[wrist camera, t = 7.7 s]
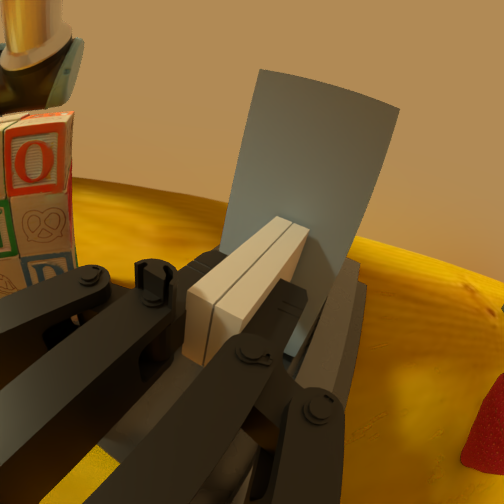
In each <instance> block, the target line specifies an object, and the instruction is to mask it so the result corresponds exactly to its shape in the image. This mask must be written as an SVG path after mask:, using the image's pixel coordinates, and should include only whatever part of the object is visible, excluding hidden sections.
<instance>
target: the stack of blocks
mask: <svg viewBox="0 0 504 504" xmlns="http://www.w3.org/2000/svg"><path fill="white" fill-rule="evenodd" d="M73 119H74V111H71V112H57V113H47V114H38V115H31V116H30V115H29V113H24V114H17V115H10V116H5V117H0V298H2V297H5V296H7V295H10V294H12V293H14V292H17V291H19V290H22V289H24V288H27V287H29V286H31V285H34V284H36V283H39V282H42V281H44V280H47V279H49V278H52V277H54V276H57V275H60V274H62V273H65V272H68V271H70V270H73V269H76V268H78V261H77V254H76V247H75V237H74V225H73V209H72V133H73V121H74V120H73ZM71 319H72V320H73V321H79V320H78V317H77V315H75V316H72V317H71Z"/></svg>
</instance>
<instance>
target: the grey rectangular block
mask: <svg viewBox="0 0 504 504" xmlns="http://www.w3.org/2000/svg"><path fill="white" fill-rule="evenodd" d="M399 110H400V109H399V108H397V107H394V106H392V105H389V104H387V103H384V102H382V101H379V100H376V99H374V98H371V97H368V96H365V95H362V94H360V93H357V92H354V91H350V90H347V89H344V88H341V87H337V86H334V85H331V84H327V83H323V82H320V81H316V80H312V79H307V78H303V77H299V76H295V75H290V74H284V73H280V72H274V71H268V70H262V69H260V70H259V74H258V78H257V82H256V86H255V90H254V93H253V98H252V102H251V106H250V110H249V114H248V118H247V122H246V126H245V131H244V135H243V139H242V144H241V148H240V152H239V157H238V161H237V166H236V171H235V176H234V180H233V184H232V189H231V194H230V198H229V203H228V208H227V213H226V218H225V223H224V228H223V233H222V238H221V243H220V248H219V251H220V252H222V253H224V254H226V255H228V256H229V255H230V254H231V253H232V252H234V251H235V250H236V249H237V248H239V247H240V246H241V245H242V244H243V243H245V242H246V241H247V240H248V239H249V238H251V237H252V236H253V235H254V234H256V233H257V232H258V231H259V230H260V229H262V228H263V227H264V226H265V225H266V224H268V223H269V222H270V221H271V220H273V219H274V218H275V217H276V216H278V217H281V218H283V219H286V220H288V221H291V222H292V224H293V223H296V224H298V225H300V226H303V227H305V228H308V229H310V230H309V233H308V236H307V239H306V242H305V244H304V247H303V250H302V253H301V255H300V258H299V261H298V263H297V266H296V269H295V271H294V274H293V276H292V279H291V281H290V283H292V284H294V285H297V286H299V287H301V288H303V289H305V290H307V296H308V302H307V304H306V306H305V309H304V311H303V313H302V315H301V317H300V319H299V321H298V323H297V325H296V327H295V329H294V331H293V333H292V335H291V338H290V339H289V341H288V343H287V345H286V347H285V349H284V353H286V354H288V355H290V356H293V357H295V356H296V354H297V353H298V351H299V349H300V347H301V345H302V344H303V342H304V340H305V338H306V336H307V335H308V333H309V331H310V329H311V327H312V325H313V323H314V321H315V319H316V318H317V316H318V314H319V312H320V310H321V308H322V306H323V304H324V302H325V300H326V298H327V296H328V294H329V292H330V290H331V288H332V286H333V284H334V281H335V279H336V277H337V275H338V273H339V271H340V269H341V267H342V264H343V262H344V260H345V258H346V256H347V253H348V251H349V249H350V246H351V244H352V242H353V240H354V237H355V235H356V233H357V230H358V228H359V225H360V223H361V220H362V218H363V216H364V213H365V211H366V208H367V205H368V203H369V200H370V198H371V195H372V192H373V190H374V187H375V184H376V182H377V179H378V176H379V173H380V171H381V168H382V165H383V162H384V159H385V156H386V153H387V150H388V147H389V144H390V141H391V137H392V134H393V131H394V127H395V124H396V121H397V118H398V114H399Z"/></svg>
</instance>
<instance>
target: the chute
mask: <svg viewBox="0 0 504 504" xmlns="http://www.w3.org/2000/svg"><path fill="white" fill-rule="evenodd" d="M219 248H220V245H218V246H217V247H215V248H214V249H213V250H218V251H219ZM211 251H212V250H211ZM359 268H360V263H358V262H356V261H353V260H351V259H349V258H347V257H346V258H345V260H344V262H343V264H342V267H341V269H340V271H339V273H338V275H337V277H336V279H335V281H334V284H333V286H332V288H331V290H330V292H329V294H328V296H327V298H326V300H325V302H324V304H323V306H322V308H321V310H320V312H319V314H318V316H317V318H316V319H315V321H314V323H313V325H312V327H311V329H310V331H309V333H308V335H307V336H306V338H305V340H304V342H303V344H302V345H301V347H300V349H299V351H298V353H297V354H296V356H295V357H293V356H290V355H288V354H286V353H284V352H283V355H282V357H283V365H284V368H285V370H286V371H287V373H288V374H289V376H290V377H291V378H292V379H293V380H294V381H296V382H297V383H298V384H299V385H300V386H302V387H303V388H304V389H305V388H308V387H320V388H322V389H325V390H328V391H330V392H331V393H332V394H334V395H335V396H336V397H337V398H338V399H339V401H340V402H341V404H342V405H343V409H344V411H345V407H346V403H347V399H348V395H349V391H350V386H351V382H352V377H353V373H354V368H355V363H356V358H357V352H358V347H359V341H360V335H361V328H362V322H363V315H364V307H365V299H366V290H367V285H366V284H363V283H361V282H359V281H358V274H359ZM203 369H204V364H203V365H202V366H201V365H199V364H197V363H196V362H194V361H192V360H191V359H189V358H187V357H186V356H184V355H182V345H181V346H180V347H179V348H178V349H177V350H176V352H175V353H174V361H173V362H172V364H171V366H170V367H169V368H168V369H167V370H166V371H165V372H164V373H163V374H162V375H161V377H160V378H159V379H158V380H157V381H156V382H155V383H154V384H153V385H152V386H151V387H150V388H149V389H148V391H147V392H146V393H145V394H144V395H143V396H142V397H141V398H140V399H139V400H138V401H137V402H136V403H135V404H134V405H133V406H132V408H131V409H130V410H129V411H128V412H127V413H126V414H125V415H124V416H123V417H122V418H121V419H120V420H119V421H118V422H117V423H116V424H115V425H114V427H113V428H112V429H111V430H110V431H109V432H108V433H107V434H106V435H105V436H104V437H103V438H102V439H101V440H100V441H99V442H98V443H97V445H98V446H99V447H100V448H102V449H103V450H104V451H105V452H106V453H108V454H109V455H110V456H111V457H112V458H114V459H115V460H116V461H117V462H119V463H120V464H121V463H122V462H123V461H124V460H125V458H126V457H127V456H128V455H129V454H130V453H131V452H132V451H133V450H134V449H135V448H136V446H137V445H138V444H139V443H140V442H141V441H142V440H143V439H144V438H145V436H146V435H147V434H148V433H149V432H150V431H151V430H152V429H153V427H154V426H155V425H156V424H157V423H158V422H159V421H160V419H161V418H162V417H163V416H164V415H165V414H166V412H167V411H168V410H169V409H170V408H171V407H172V406H173V404H174V403H175V402H176V401H177V400H178V398H179V397H180V396H181V395H182V394H183V393H184V391H185V390H186V389H187V388H188V387H189V385H190V384H191V383H192V382H193V381H194V379H195V378H196V377H197V376H198V375H199V373H200V372H201V371H202V370H203ZM257 448H258V444H257V443H256V442H255V441H254V440H253V439H252V438H251V437H250V436H249V435H248V434H247V433H246V432H244V431H243V430H242V429H241V428H240V430H239V431H238V433H237V435H236V436H235V438H234V439H233V441H232V443H231V444H230V446H229V447H228V449H227V450H226V452H225V453H224V455H223V456H222V458H221V459H220V461H219V462H218V464H217V465H216V467H215V468H214V470H213V471H212V473H211V474H210V476H209V477H208V479H207V480H206V481H205V483H204V484H203V486H202V487H201V488H200V490H199V491H198V493H197V494H196V495H195V497H194V498H193V499H192V501H191V502H190V503H189V504H244V500H245V496H246V492H247V489H248V485H249V481H250V477H251V473H252V469H253V465H254V461H255V456H256V452H257Z"/></svg>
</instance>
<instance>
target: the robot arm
mask: <svg viewBox="0 0 504 504" xmlns="http://www.w3.org/2000/svg"><path fill="white" fill-rule="evenodd" d="M62 1H63V0H0V7H1V16H2V23H3V30H4V35H5V41H6V43H4V44H3V43H1V44H0V117H2V115H4V114H10V113H16V112H23V111H32V110H41V109H48V108H51V107H58V106H62V105H63V104H65V103H66V102H67V101H68V100H69V98H70V96H71V94H72V91H73V88H74V85H75V82H76V79H77V75H78V71H79V68H80V64H81V60H82V55H83V49H84V41H83V39H81V38H78V37H77V38H74V39H72V28H71V26H70V25H69V24H68V23H67V22H64V21H62ZM309 230H310V229H308V228H305V227H303V226H300V225H298V224H296V223H293V224H292V222H291V221H288V220H286V219H283V218H281V217H278V216H276V217H275V218H274V219H273V220H271V221H270V222H269V223H268V224H266V225H265V226H264V227H263V228H262V229H260V230H259V231H258V232H257V233H256V234H254V235H253V236H252V237H251V238H249V239H248V240H247V241H246V242H245V243H243V244H242V245H241V246H240V247H239V248H237V249H236V250H235V251H234V252H232V253H231V254H230V255H229V256H228V255H226V254H224V253H222V252H220V251H218V250H212V251H208V252H205V253H202V254H201V255H200V256H198V257H197V258H195V259H194V261H191V262H190V263H188V264H187V266H184V267H183V268H182V269H180V270H179V271H177V270H176V268H175V267H174V266H173V265H171V264H170V263H169V262H166V261H163V260H160V259H144V260H140V261H138V262H135V263H134V264H135V288H133V289H128V288H125V287H122V286H119V285H116V284H113V283H111V280H110V275H109V272H108V271H107V270H106V269H105V268H104V267H101V266H98V265H85V266H81V267H78V268H76V269H73V270H70V271H68V272H65V273H62V274H60V275H57V276H54V277H52V278H49V279H47V280H44V281H42V282H39V283H36V284H34V285H31V286H29V287H27V288H24V289H22V290H19V291H17V292H14V293H12V294H10V295H7V296H5V297H2V298H0V504H39V502H40V501H41V500H42V499H43V498H44V497H45V496H46V495H47V494H48V493H49V492H50V491H51V490H52V489H53V488H54V487H55V486H56V485H57V484H58V483H59V482H60V481H61V480H62V479H63V478H64V477H65V476H66V475H67V474H68V473H69V472H70V471H71V470H72V469H73V468H74V467H75V466H76V465H77V464H78V463H79V462H80V461H81V460H82V459H83V458H84V457H85V456H86V454H87V453H88V452H89V451H90V450H91V449H92V448H93V447H94V446H95V445H96V444H97V443H98V442H99V441H100V440H101V439H102V438H103V437H104V436H105V435H106V434H107V433H108V432H109V431H110V430H111V429H112V428H113V427H114V425H115V424H116V423H117V422H118V421H119V420H120V419H121V418H122V417H123V416H124V415H125V414H126V413H127V412H128V411H129V410H130V409H131V408H132V406H133V405H134V404H135V403H136V402H137V401H138V400H139V399H140V398H141V397H142V396H143V395H144V394H145V393H146V392H147V391H148V389H149V388H150V387H151V386H152V385H153V384H154V383H155V382H156V381H157V380H158V379H159V378H160V377H161V375H162V374H163V373H164V372H165V371H166V370H167V369H168V368H169V367H170V366H171V364H172V362H173V361H174V353H175V352H176V350H177V349H178V348H179V347H180V346H181V345H182V355H184V356H186V357H187V358H189V359H191V360H192V361H194V362H196V363H197V364H199V365H201V366H202V365H203V364H204V369H203V370H202V371H201V372H200V373H199V375H198V376H197V377H196V378H195V379H194V381H193V382H192V383H191V384H190V385H189V387H188V388H187V389H186V390H185V391H184V393H183V394H182V395H181V396H180V397H179V398H178V400H177V401H176V402H175V403H174V404H173V406H172V407H171V408H170V409H169V410H168V411H167V412H166V414H165V415H164V416H163V417H162V418H161V419H160V421H159V422H158V423H157V424H156V425H155V426H154V427H153V429H152V430H151V431H150V432H149V433H148V434H147V435H146V436H145V438H144V439H143V440H142V441H141V442H140V443H139V444H138V445H137V446H136V448H135V449H134V450H133V451H132V452H131V453H130V454H129V455H128V456H127V457H126V458H125V460H124V461H123V462H122V463H121V464H120V465H119V466H118V467H117V468H116V469H115V470H114V471H113V472H112V474H111V475H110V476H109V477H108V478H107V479H106V480H105V481H104V482H103V483H102V484H101V485H100V486H99V487H98V488H97V489H96V490H95V491H94V492H93V493H92V494H91V495H90V496H89V497H88V498H87V499H86V500H85V501H84V502H83V503H82V504H189V503H190V502H191V501H192V499H193V498H194V497H195V495H196V494H197V493H198V491H199V490H200V488H201V487H202V486H203V484H204V483H205V481H206V480H207V479H208V477H209V476H210V474H211V473H212V471H213V470H214V468H215V467H216V465H217V464H218V462H219V461H220V459H221V458H222V456H223V455H224V453H225V452H226V450H227V449H228V447H229V446H230V444H231V443H232V441H233V439H234V438H235V436H236V435H237V433H238V431H239V430H240V428H241V429H242V430H243V431H244V432H246V433H247V434H248V435H249V436H250V437H251V438H252V439H253V440H254V441H255V442H256V443H257V444H258V448H257V452H256V456H255V461H254V465H253V469H252V473H251V477H250V481H249V485H248V489H247V492H246V496H245V500H244V504H340V497H341V486H342V474H343V458H344V431H345V414H344V409H343V405H342V404H341V402H340V401H339V399H338V398H337V397H336V396H335V395H334V394H332V393H331V392H330V391H328V390H325V389H322V388H320V387H308V388H305V389H304V388H303V387H302V386H300V385H299V384H298V383H297V382H296V381H294V380H293V379H292V378H291V377H290V376H289V374H288V373H287V371H286V370H285V368H284V365H283V357H282V355H283V352H284V349H285V347H286V345H287V343H288V341H289V339H290V338H291V335H292V333H293V331H294V329H295V327H296V325H297V323H298V321H299V319H300V317H301V315H302V313H303V311H304V309H305V306H306V304H307V302H308V296H307V290H305V289H303V288H301V287H299V286H297V285H294V284H292V283H290V281H291V279H292V276H293V274H294V271H295V269H296V266H297V263H298V261H299V258H300V255H301V253H302V250H303V247H304V244H305V242H306V239H307V236H308V233H309ZM75 315H77V317H78V320H79V321H73V320H72V319H71V317H72V316H75Z"/></svg>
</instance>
